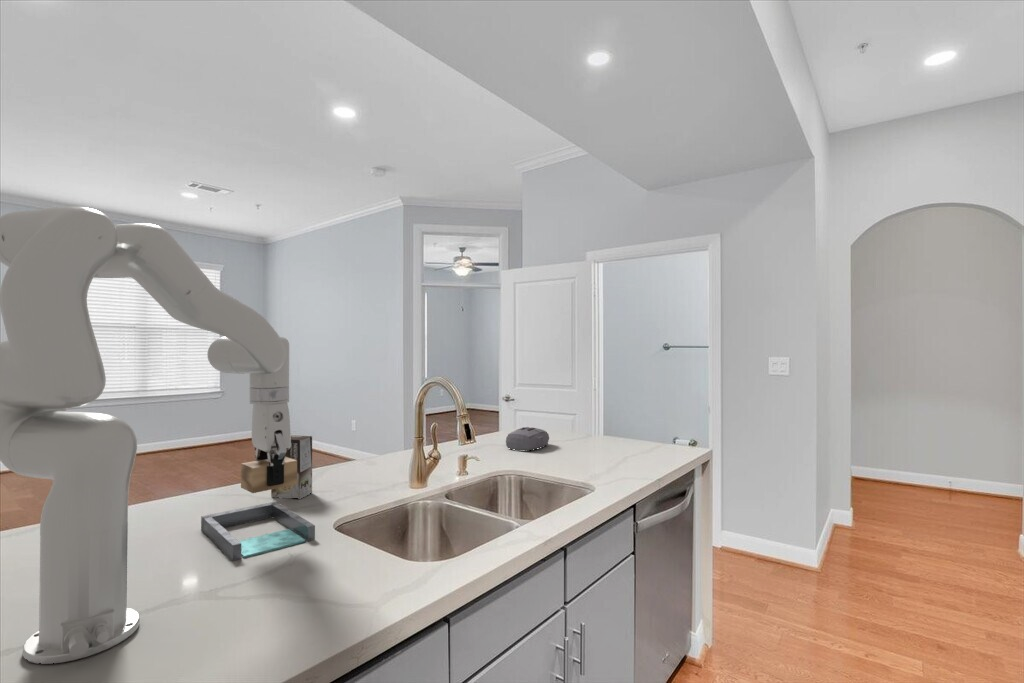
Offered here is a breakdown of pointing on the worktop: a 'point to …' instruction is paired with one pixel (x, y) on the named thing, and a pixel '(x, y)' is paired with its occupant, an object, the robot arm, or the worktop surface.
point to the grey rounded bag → (527, 439)
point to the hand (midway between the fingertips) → (269, 480)
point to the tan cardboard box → (257, 475)
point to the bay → (260, 544)
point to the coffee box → (298, 468)
